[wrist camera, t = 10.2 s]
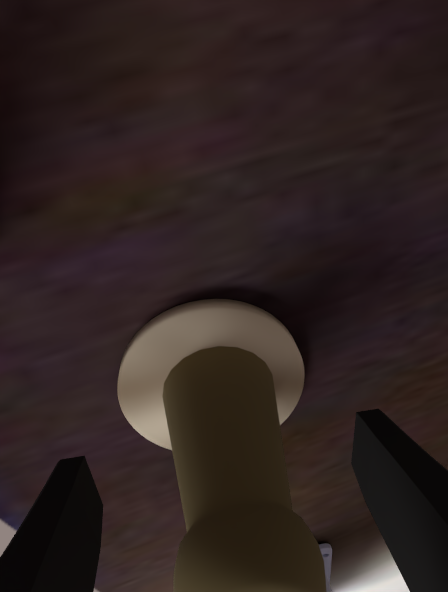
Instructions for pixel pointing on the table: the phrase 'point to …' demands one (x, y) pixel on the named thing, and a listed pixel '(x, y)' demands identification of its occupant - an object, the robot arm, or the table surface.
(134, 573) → the table surface
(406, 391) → the table surface
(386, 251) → the table surface
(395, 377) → the table surface
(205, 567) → the cork
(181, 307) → the coaster
